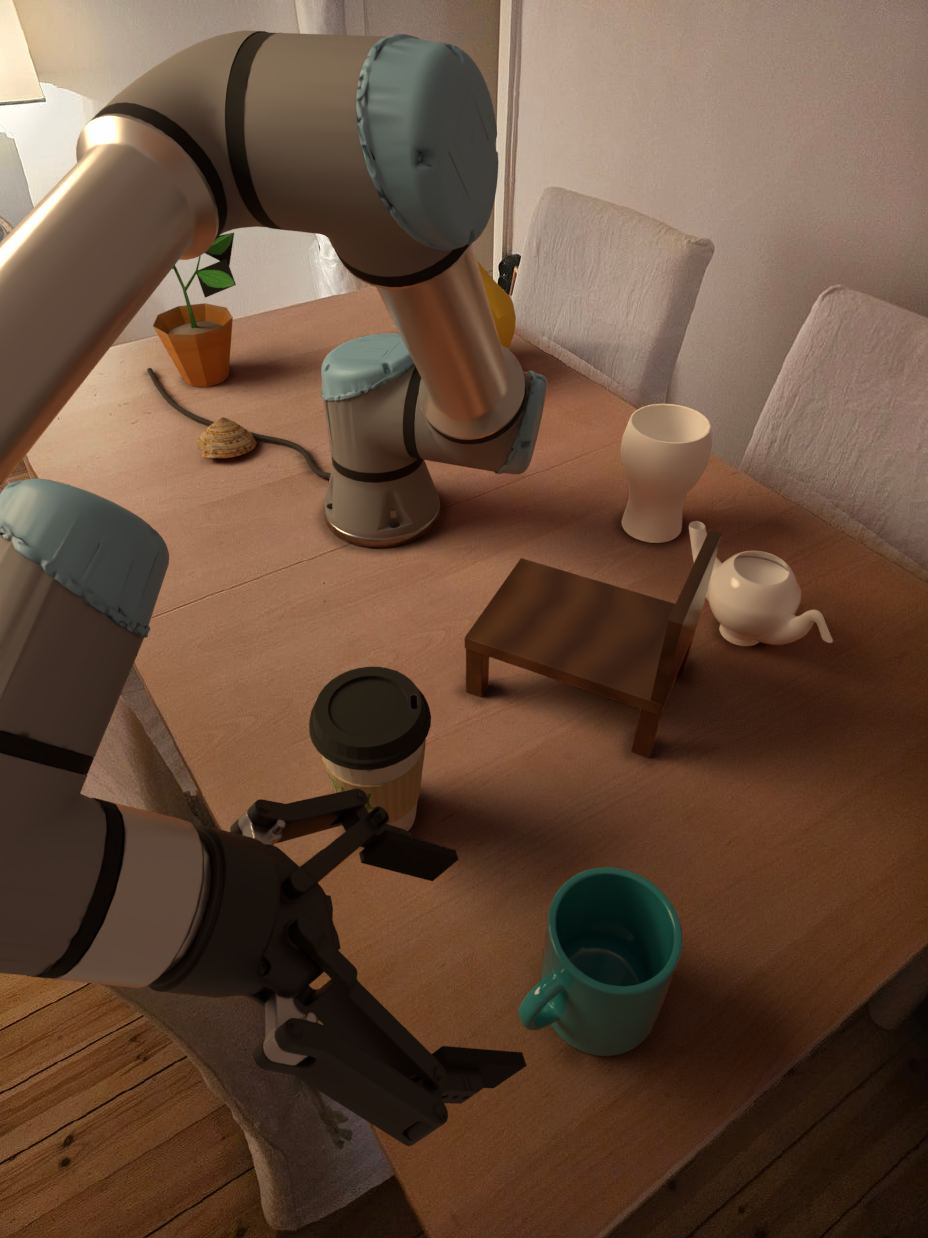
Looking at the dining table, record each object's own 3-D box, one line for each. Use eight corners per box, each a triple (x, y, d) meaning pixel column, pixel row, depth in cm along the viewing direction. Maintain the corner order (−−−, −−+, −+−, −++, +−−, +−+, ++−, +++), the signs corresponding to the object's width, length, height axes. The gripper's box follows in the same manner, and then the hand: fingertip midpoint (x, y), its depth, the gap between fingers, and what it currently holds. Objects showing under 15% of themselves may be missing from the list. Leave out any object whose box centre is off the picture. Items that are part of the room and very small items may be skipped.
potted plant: (126, 384, 137) (67, 189, 117) (211, 344, 148) (170, 159, 128) (200, 414, 129) (149, 211, 109) (283, 370, 141) (252, 177, 120)
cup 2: (692, 555, 103) (717, 450, 93) (607, 545, 104) (622, 440, 94) (692, 507, 110) (715, 405, 100) (613, 498, 112) (627, 397, 102)
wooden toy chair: (464, 692, 86) (463, 557, 74) (517, 611, 95) (524, 480, 83) (649, 759, 79) (682, 624, 67) (687, 666, 89) (722, 531, 76)
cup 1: (483, 999, 63) (485, 929, 55) (605, 919, 67) (622, 844, 60) (554, 1110, 57) (567, 1050, 50) (682, 1015, 62) (712, 946, 54)
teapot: (783, 704, 84) (808, 639, 78) (648, 598, 97) (660, 535, 90) (843, 666, 88) (871, 602, 82) (705, 569, 101) (721, 507, 94)
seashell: (181, 447, 118) (206, 404, 121) (198, 470, 123) (222, 428, 126) (229, 458, 116) (254, 413, 119) (245, 481, 121) (268, 438, 124)
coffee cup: (330, 773, 78) (309, 664, 68) (432, 766, 79) (427, 656, 69) (326, 865, 71) (302, 759, 61) (439, 857, 72) (433, 750, 62)
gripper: (126, 749, 49) (390, 828, 62) (122, 1253, 31) (493, 1213, 44) (198, 668, 46) (457, 769, 59) (239, 1166, 28) (595, 1151, 42)
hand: (473, 958), depth 52 cm, fingers open, 13 cm apart
